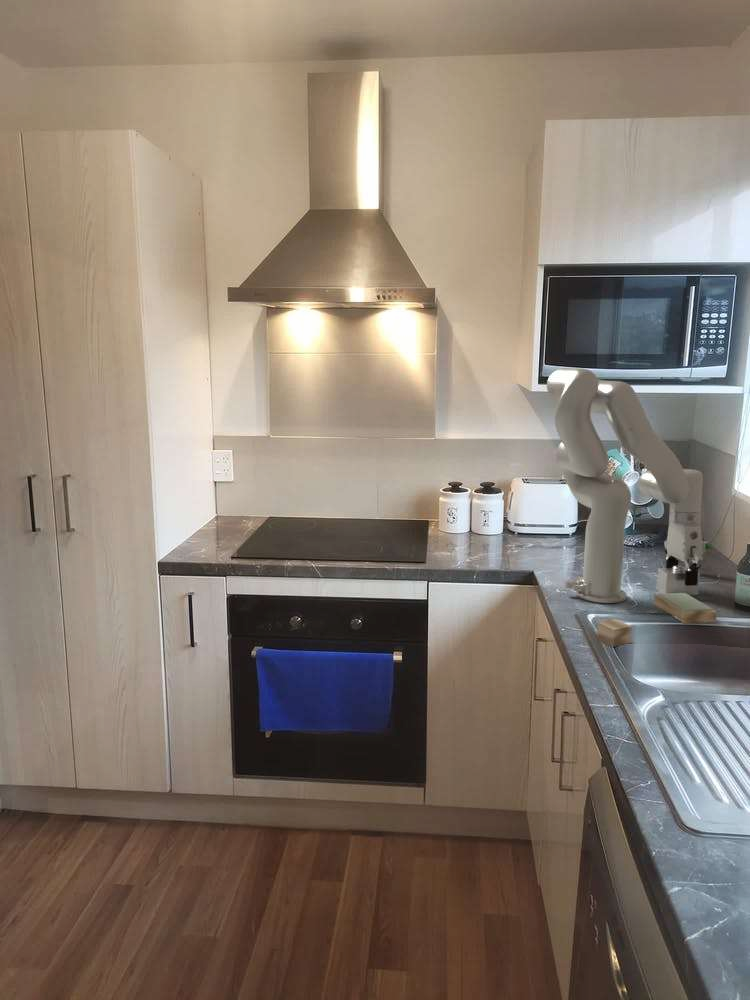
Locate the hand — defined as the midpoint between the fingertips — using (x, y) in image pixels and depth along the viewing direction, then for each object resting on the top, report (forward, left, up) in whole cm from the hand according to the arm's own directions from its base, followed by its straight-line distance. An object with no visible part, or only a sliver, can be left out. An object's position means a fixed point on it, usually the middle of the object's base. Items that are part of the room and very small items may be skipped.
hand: (681, 579), depth 190 cm
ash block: (-33, -32, -4) cm, 46 cm away
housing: (-1, 0, -4) cm, 4 cm away
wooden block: (-8, -16, -3) cm, 18 cm away
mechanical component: (+11, +16, -4) cm, 20 cm away
